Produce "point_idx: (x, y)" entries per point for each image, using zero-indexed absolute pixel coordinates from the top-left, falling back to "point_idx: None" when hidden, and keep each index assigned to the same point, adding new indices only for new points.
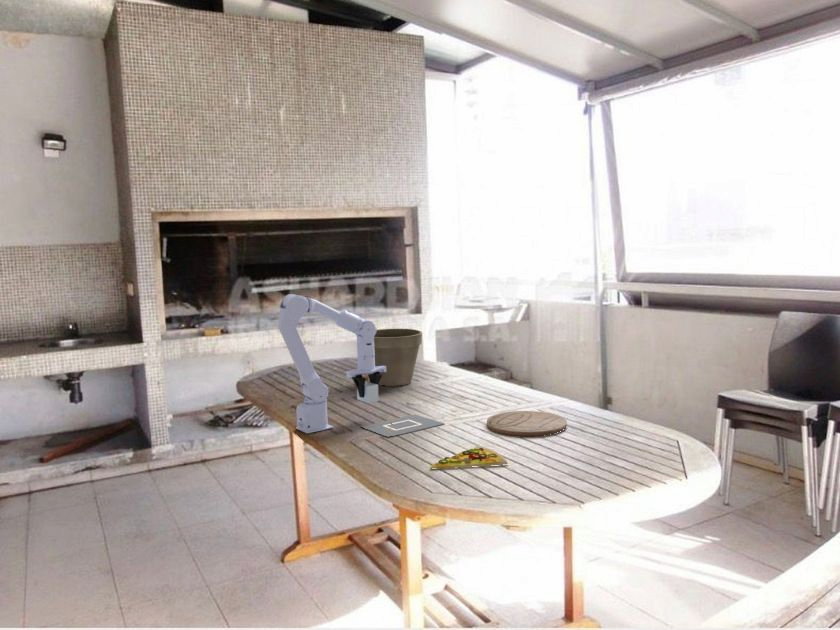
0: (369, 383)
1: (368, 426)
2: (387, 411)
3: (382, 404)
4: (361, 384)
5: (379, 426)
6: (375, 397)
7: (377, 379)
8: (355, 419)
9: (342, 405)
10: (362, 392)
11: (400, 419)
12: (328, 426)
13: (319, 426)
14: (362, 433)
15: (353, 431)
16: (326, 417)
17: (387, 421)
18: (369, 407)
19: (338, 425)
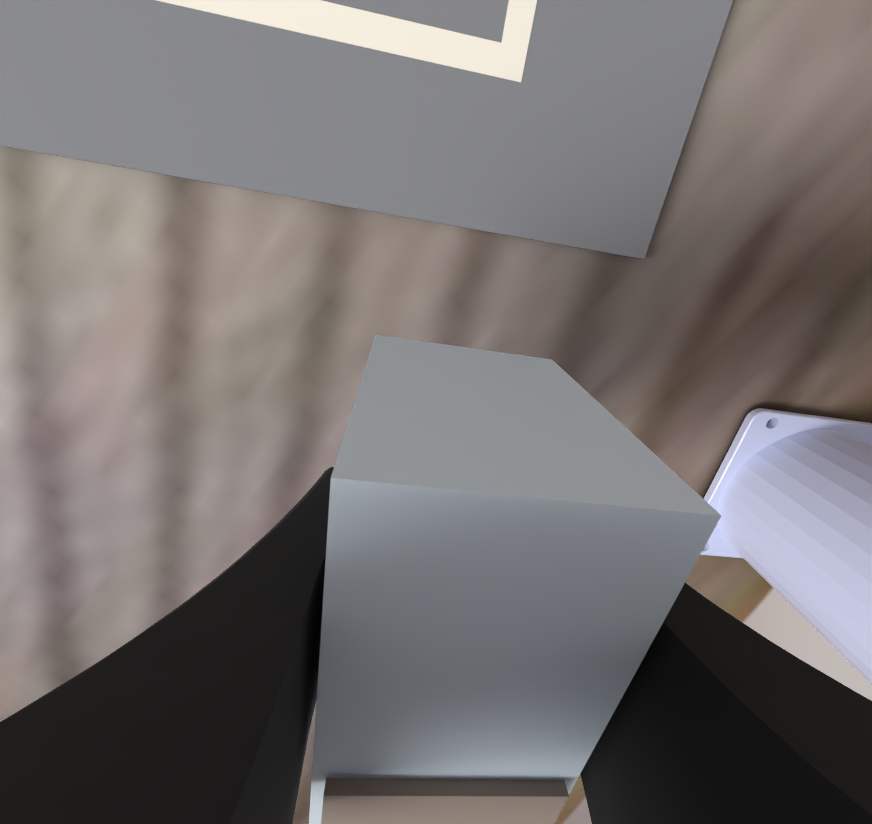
0: (392, 721)
1: (610, 193)
2: (155, 464)
3: (85, 620)
4: (818, 682)
5: (559, 85)
6: (431, 362)
7: (183, 739)
8: None
9: (311, 731)
10: None
11: (223, 109)
12: (768, 438)
13: (867, 442)
14: (801, 64)
15: (767, 206)
16: (849, 479)
17: (373, 175)
18: None
19: (664, 439)
